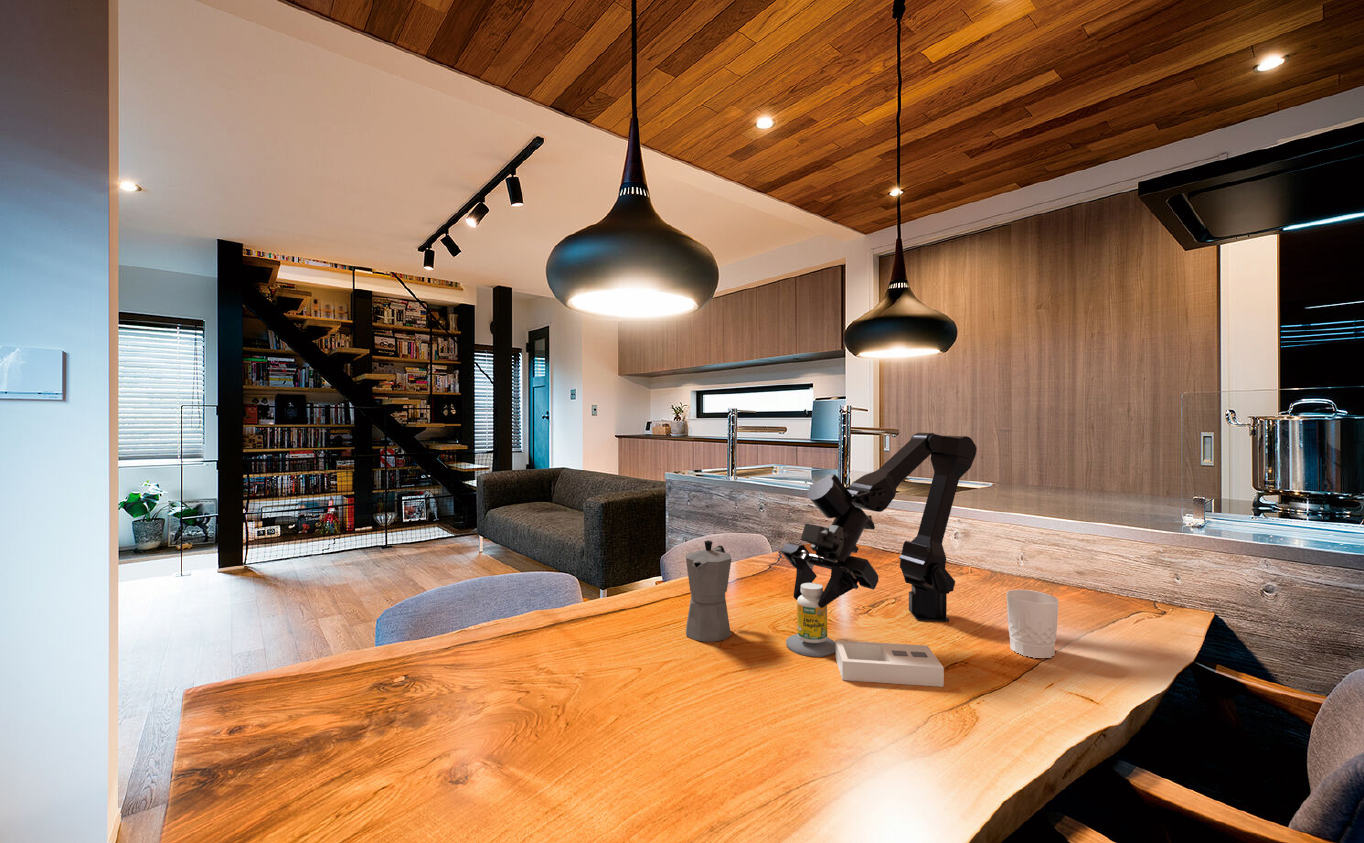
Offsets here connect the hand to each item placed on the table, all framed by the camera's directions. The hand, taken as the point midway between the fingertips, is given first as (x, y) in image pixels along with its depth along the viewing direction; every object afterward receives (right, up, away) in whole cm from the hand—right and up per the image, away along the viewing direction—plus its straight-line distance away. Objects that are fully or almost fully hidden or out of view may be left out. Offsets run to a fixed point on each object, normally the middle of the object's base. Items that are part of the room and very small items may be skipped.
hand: (807, 602), depth 100 cm
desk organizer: (+11, -8, -9) cm, 17 cm away
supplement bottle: (+1, -7, +1) cm, 7 cm away
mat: (+1, -8, +1) cm, 8 cm away
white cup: (+40, -9, -1) cm, 41 cm away
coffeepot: (-17, -8, +8) cm, 21 cm away
